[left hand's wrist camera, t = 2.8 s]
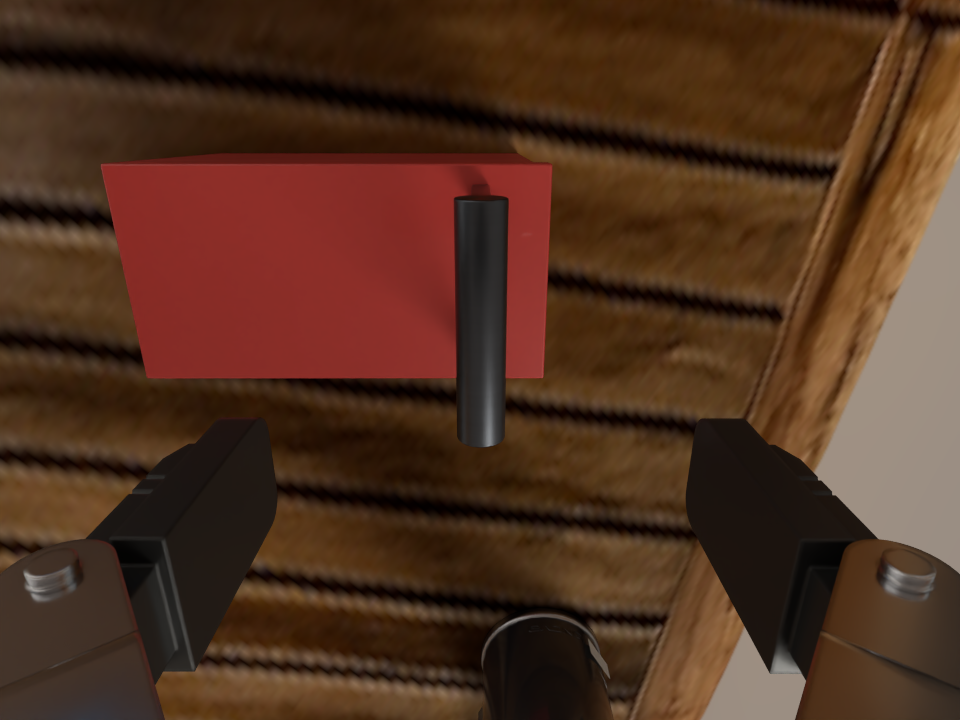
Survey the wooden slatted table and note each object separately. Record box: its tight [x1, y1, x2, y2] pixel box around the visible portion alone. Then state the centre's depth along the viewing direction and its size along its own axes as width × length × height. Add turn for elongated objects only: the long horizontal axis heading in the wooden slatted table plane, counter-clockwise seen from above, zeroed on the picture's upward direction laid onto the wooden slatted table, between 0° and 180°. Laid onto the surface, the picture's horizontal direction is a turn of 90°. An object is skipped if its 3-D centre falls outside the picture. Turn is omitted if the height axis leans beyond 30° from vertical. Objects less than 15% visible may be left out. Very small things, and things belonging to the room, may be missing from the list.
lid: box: [101, 162, 552, 447], centre depth 22 cm, size 18×9×8 cm, turn 90°
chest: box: [126, 153, 532, 162], centre depth 31 cm, size 17×9×11 cm, turn 90°
